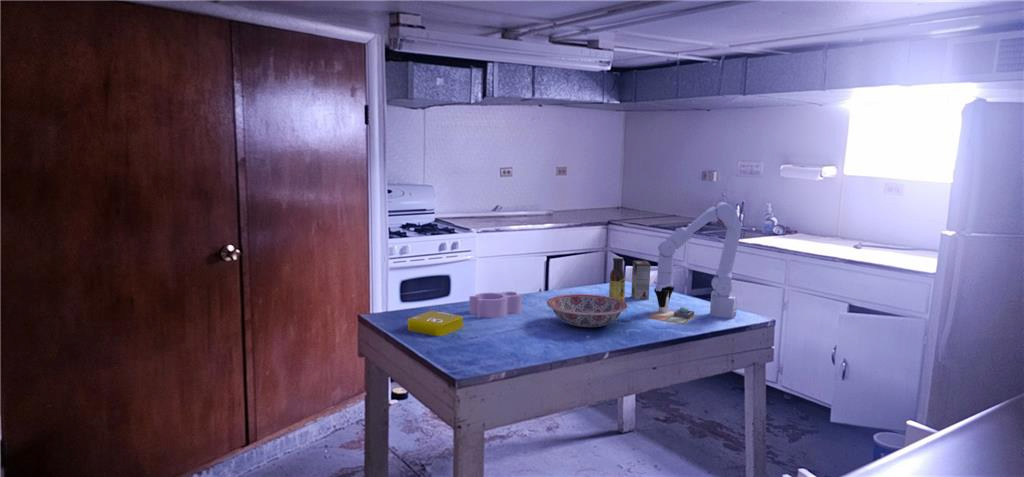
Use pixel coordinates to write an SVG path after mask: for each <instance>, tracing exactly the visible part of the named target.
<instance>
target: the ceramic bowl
mask: <svg viewBox="0 0 1024 477" xmlns="http://www.w3.org/2000/svg"><path fill="white" fill-rule="evenodd" d="M546 305H547V307H549V308H550V309H552V311H553V313H554V314H555V316H556V317H557V318H558V319H559V320H561V321H562V322H564V323H566V324H568V325H571V326H573V327H575V326H576V327H581V328H598V327H603V326H607V325H609V324H611V323H613V322H614V321H615V320H616V319H618V318H619V316H620V315H621V313H622V312H624V311H626V310H627V309H628V304H627V303H626V302H625V301H624V302H623V301H621V300H618V299H615V298H611V297H609V296H605V295H598V294H583V293H582V294H581V293H579V294H577V293H575V294H574V293H573V294H563V295H557V296H553V297H551V298H549V299H547V301H546Z"/></svg>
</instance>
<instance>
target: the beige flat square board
mask: <svg viewBox="0 0 1024 477" xmlns="http://www.w3.org/2000/svg"><path fill="white" fill-rule="evenodd" d="M658 311H659V309H658V310H656V311H655V312H653V313H651V314H650V315H648V316H647V317H645V319H646V320H654V321H660V322H666V323H672V324H679V325H684V326H685V325H686V324H687V323H689V322H690V321H691V320H693V319H695V317H697V316H698V315H697V314H694V316H692V317H691V318H690V319H688V318H682V317H675V316H674V312H675V311H673V310H668V313H660V312H658Z"/></svg>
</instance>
